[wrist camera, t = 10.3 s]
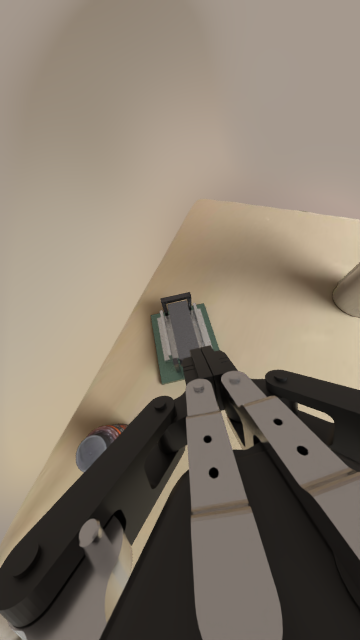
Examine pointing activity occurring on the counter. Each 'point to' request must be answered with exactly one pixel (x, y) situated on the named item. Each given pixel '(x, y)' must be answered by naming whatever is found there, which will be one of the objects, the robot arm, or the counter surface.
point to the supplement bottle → (96, 444)
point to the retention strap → (182, 329)
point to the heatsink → (166, 339)
